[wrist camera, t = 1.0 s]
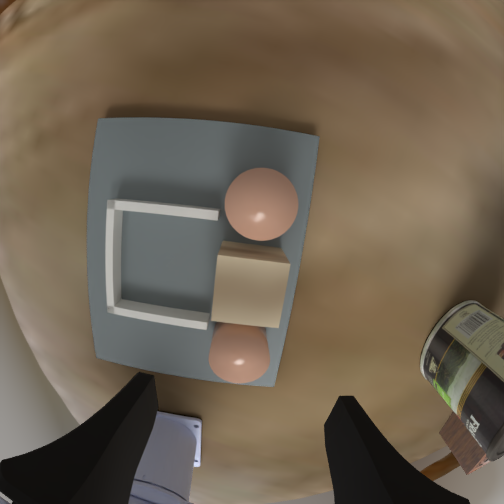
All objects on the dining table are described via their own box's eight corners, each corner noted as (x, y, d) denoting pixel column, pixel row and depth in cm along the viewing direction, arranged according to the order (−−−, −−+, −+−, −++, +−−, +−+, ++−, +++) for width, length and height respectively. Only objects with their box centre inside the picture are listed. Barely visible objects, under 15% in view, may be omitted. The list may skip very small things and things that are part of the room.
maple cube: (272, 301, 20) (278, 328, 16) (216, 295, 20) (211, 320, 16) (281, 248, 19) (290, 264, 16) (222, 240, 19) (217, 254, 15)
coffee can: (440, 391, 25) (497, 466, 11) (403, 358, 23) (479, 456, 10) (493, 327, 24) (565, 383, 10) (468, 280, 22) (569, 339, 8)
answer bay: (209, 320, 21) (206, 329, 19) (115, 304, 20) (107, 312, 19) (220, 209, 19) (218, 211, 17) (116, 198, 18) (107, 199, 17)
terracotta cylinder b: (283, 233, 19) (292, 244, 16) (224, 226, 19) (220, 236, 16) (292, 174, 18) (303, 173, 15) (232, 166, 18) (229, 163, 15)
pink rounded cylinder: (261, 358, 21) (264, 385, 18) (211, 352, 21) (206, 379, 18) (270, 314, 21) (274, 338, 17) (215, 307, 20) (210, 331, 17)
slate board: (272, 379, 23) (273, 386, 22) (100, 352, 22) (96, 357, 21) (315, 138, 19) (319, 136, 18) (104, 120, 18) (98, 118, 17)
